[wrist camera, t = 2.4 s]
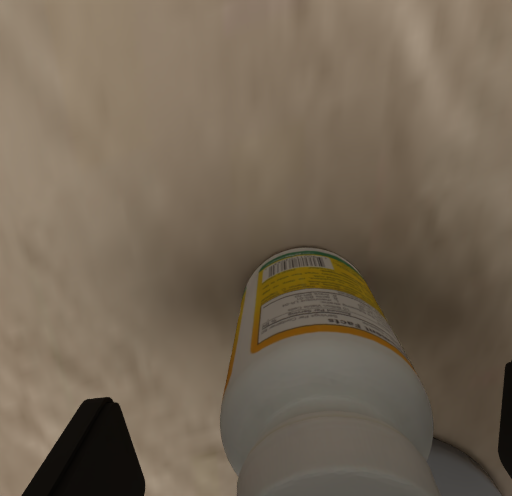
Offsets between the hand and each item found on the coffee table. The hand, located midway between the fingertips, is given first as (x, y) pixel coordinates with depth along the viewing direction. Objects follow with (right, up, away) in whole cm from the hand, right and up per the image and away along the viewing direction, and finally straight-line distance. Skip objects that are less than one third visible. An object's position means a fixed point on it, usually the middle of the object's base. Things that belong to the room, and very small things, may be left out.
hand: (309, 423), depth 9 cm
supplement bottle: (+1, +2, +7) cm, 7 cm away
